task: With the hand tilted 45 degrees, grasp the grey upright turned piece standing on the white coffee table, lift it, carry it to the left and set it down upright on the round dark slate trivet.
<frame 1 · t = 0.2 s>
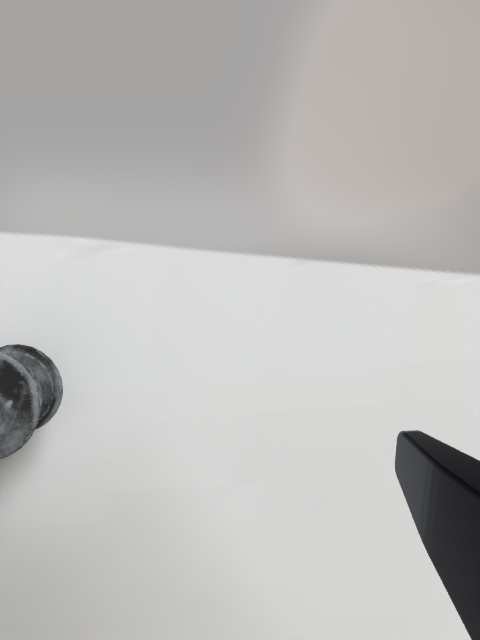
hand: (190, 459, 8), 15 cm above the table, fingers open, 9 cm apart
grey upright turned piece: (19, 387, 24), on the table
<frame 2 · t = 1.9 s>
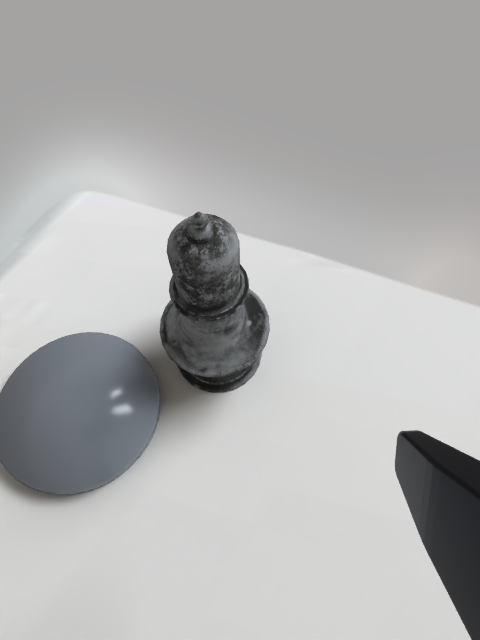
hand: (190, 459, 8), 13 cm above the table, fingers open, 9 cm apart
grey upright turned piece: (218, 352, 24), on the table
trivet: (81, 408, 23), on the table
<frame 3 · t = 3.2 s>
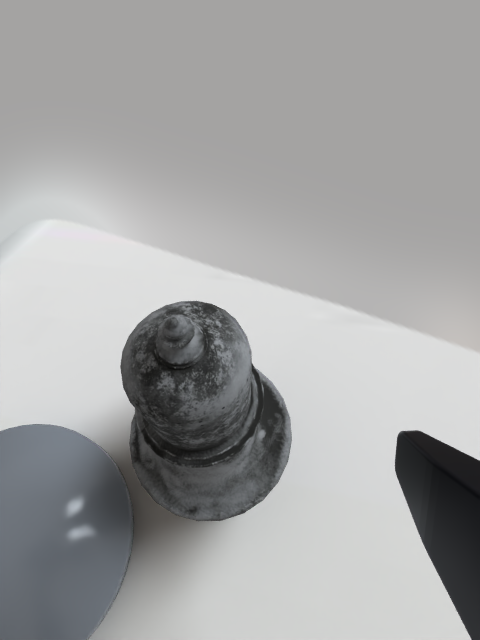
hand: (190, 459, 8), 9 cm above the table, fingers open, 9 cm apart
grey upright turned piece: (217, 449, 18), on the table
trivet: (20, 541, 16), on the table
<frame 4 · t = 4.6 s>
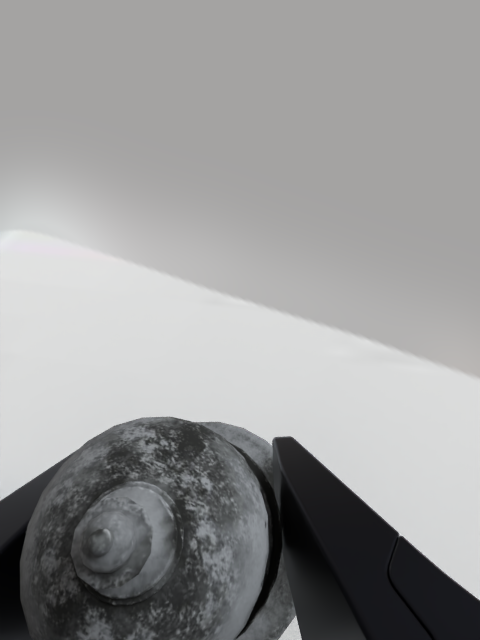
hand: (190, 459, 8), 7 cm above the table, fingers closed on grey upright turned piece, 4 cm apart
grey upright turned piece: (213, 531, 14), on the table, touching gripper
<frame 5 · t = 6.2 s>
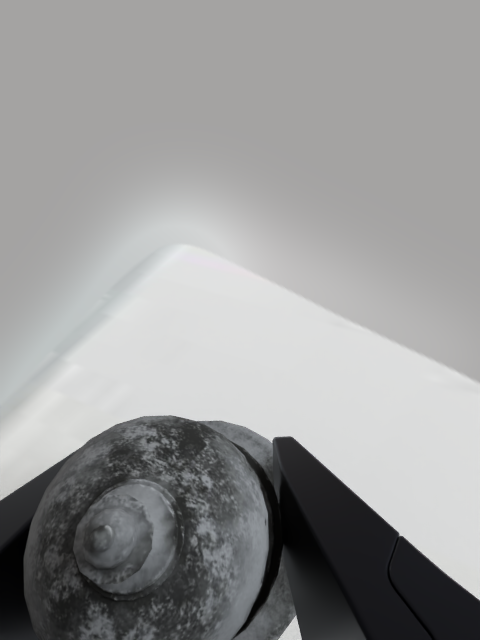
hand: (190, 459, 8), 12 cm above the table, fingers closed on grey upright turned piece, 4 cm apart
grey upright turned piece: (215, 529, 14), point 5 cm above the table, touching gripper
when the fingers open (8 cm above the table, at t = 7.6 s): grey upright turned piece stays where it is, resting on trivet.
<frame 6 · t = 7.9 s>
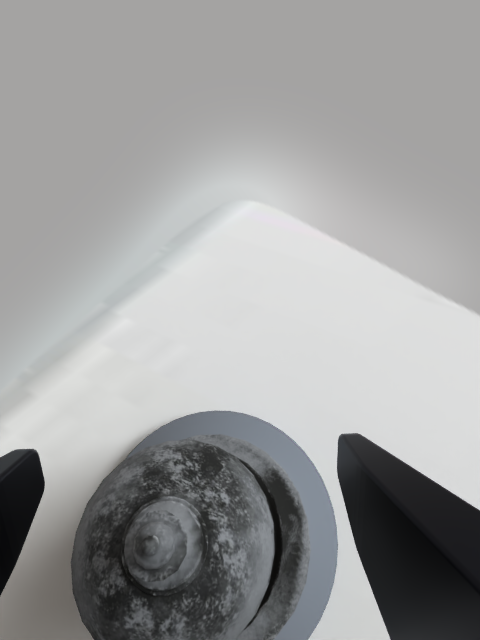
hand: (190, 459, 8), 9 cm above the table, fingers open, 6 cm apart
grey upright turned piece: (215, 536, 15), point 1 cm above the table, touching trivet
trivet: (216, 530, 15), on the table
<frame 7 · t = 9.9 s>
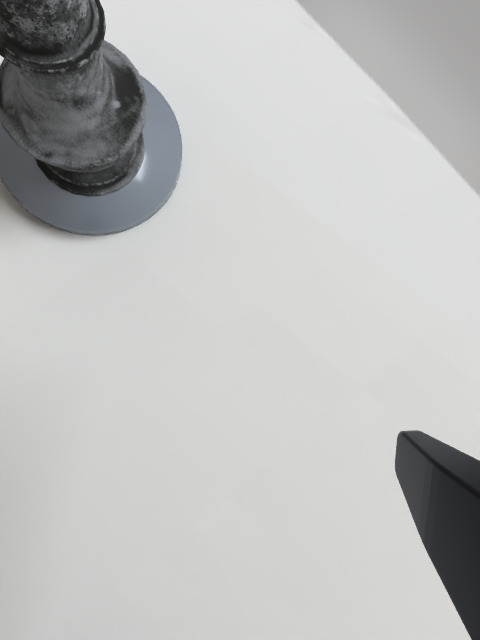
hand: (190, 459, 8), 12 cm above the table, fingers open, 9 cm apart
grey upright turned piece: (90, 146, 20), point 1 cm above the table, touching trivet
trivet: (92, 149, 20), on the table
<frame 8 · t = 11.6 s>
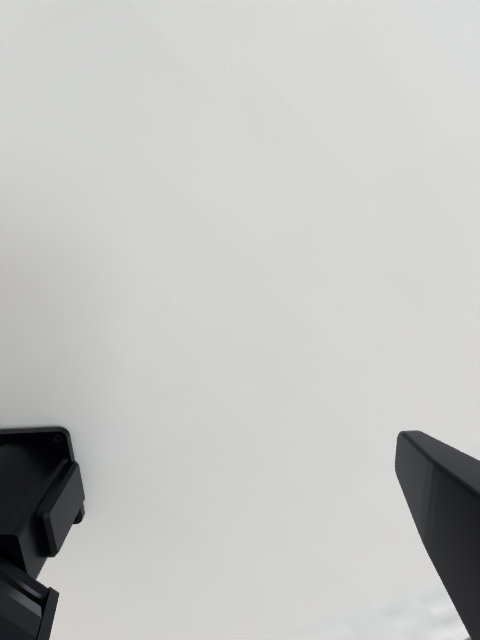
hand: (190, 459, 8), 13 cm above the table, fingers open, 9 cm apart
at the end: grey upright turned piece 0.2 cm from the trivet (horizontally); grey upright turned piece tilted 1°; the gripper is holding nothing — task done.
